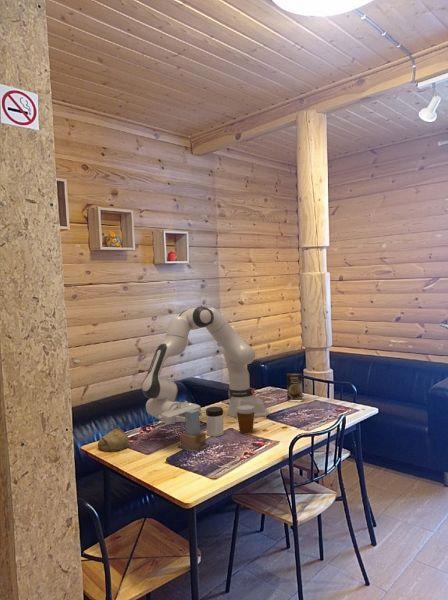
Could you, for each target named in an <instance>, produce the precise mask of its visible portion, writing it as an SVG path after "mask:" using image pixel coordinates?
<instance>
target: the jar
mask: <svg viewBox="0 0 448 600" xmlns="http://www.w3.org/2000/svg"><path fill="white" fill-rule="evenodd" d="M205 415H206V437H207V436H208V437H216V438H217V437H219V436H224V435H225V434H224V409H223V408H222V407H220V406H210V407H207V408H206V409H205Z"/></svg>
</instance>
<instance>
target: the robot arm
mask: <svg viewBox="0 0 448 600" xmlns="http://www.w3.org/2000/svg"><path fill="white" fill-rule="evenodd" d="M202 328H203V329H204V328H206V330H207V331H208V332H209V333H210V335H211V336H212V337H213V339H214V340H215V341H216V343H217V344H218V345H219V346H220V347H222V355H223V357H224V359H225V363H226V368H227V372H228V382H229V383H228V384H229V388H228V399H229V402H228V403H229V404H228V409H227V416H230V417H233V418H237V419H238V417H237V412H236V408H237V406H239V405H253V406H254V408H255V412H254V418H261V417H267V416H268V415H269V414H270V412H269V410H268V408H266V407H265V404H264V401H263V400H262V399H261V398H259V397H258V396H256V395H255V393H256V391H255V389H254V388H253V387H251V386H250V384H251V383H250V373H249V370H248V369H247V365H250V364H252V363H253V362H254V361H255V359H256V351H255V349H254V348H252V347H251V346H250V345H249V344H248V343H247V342H246V341H245V340H244V338H242V337H241V336H240V334H239V333H237V332H236V331H235V330H234V329H233V327H232V326H231V324H230V323H229V322H228V321H227V319H226V318H225V317H224V316H223V315H222V313H221V312H220V311H218V309H216V308H215V307H205V306H198V307H191V308H189V309H186V310H183V311H182V312H181V313H180V314H179V315H176V316H173V317H171V319H170V321H169V323H168V326H167V330H166V332H165V336H164V340H163V342H162V343H161V344H159V345H158V346H157V348H156V351H154V352H155V353H154V355H153V358H152V360H151V363H150V366H149V368H148V371H147V374H146V376H145V378H144V380H143V381H142V383H141V384H142V385H141V392H142V393H143V395H144V397H145V398H146V399H148V400H147V401H146V403H145V410H146V412H147V414H149V416H152V417H154V418H157V420H160V421H161V422H162V423H163V424H166V425H172V424H175V423H178V422H180V423H182V422H183V423H185V421H187V417H185V411H187V410H190V409H195V410H199V417H201V416H203V412H202V407H201V405H199V404H197V403H192V402H188V401H187V400H182V401H181V400H180V401H176V399H177V397H178V393H179V389H178V386H177V384H176V383H175V382H174V381H172V380H168V379H164V378H161V377H160V376H161V373H162V369H163V367H164V365H165V362H166V361H167V359H168V358H171V357H175V356H176V357H177V356H179V355H181V354H183V353H184V352H185V350H186V348H187V344H188V339H189V334H190V331H193V330H199V329H202Z"/></svg>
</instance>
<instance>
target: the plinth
mask: <svg viewBox="0 0 448 600" xmlns="http://www.w3.org/2000/svg"><path fill="white" fill-rule="evenodd" d="M179 438H180V439H179V441H180V442H179V443H180V444H179V445H177V446H176V447H177V449H181V450H183V451H187V452H191V453H193V454H194V453H196V452H198V451H200V450H203V449H205V448H207V447H209V446H210V444H209V443H207V431H206V432H205V431H202V430H200V433H198V434H196V435H193V436H192V435H189V434H186V431H184V432H181V433H179Z"/></svg>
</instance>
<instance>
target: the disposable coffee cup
mask: <svg viewBox="0 0 448 600" xmlns="http://www.w3.org/2000/svg"><path fill="white" fill-rule="evenodd" d="M236 412H237V417H238V418H237V417H236V418H237V423H238V428H239V432H240V433H241V434H246V435H247V434H251V433H253V431H254V421H255V417H254V412H255V408H254V406H253V405H239V406H237V408H236Z"/></svg>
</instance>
